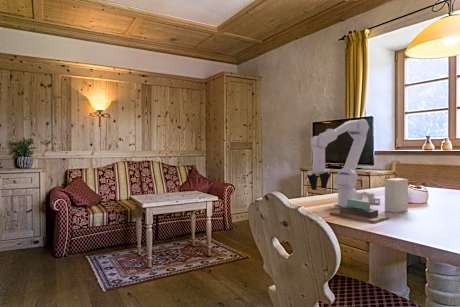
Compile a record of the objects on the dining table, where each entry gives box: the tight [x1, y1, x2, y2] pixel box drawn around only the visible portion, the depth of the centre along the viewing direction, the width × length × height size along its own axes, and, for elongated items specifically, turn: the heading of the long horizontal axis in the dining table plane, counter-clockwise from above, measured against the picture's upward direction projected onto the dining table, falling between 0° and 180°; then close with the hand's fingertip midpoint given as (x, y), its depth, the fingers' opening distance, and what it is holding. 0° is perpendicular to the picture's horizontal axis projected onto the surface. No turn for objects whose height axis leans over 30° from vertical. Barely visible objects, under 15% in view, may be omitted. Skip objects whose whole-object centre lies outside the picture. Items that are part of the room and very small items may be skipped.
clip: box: [347, 199, 371, 211], centre depth 133 cm, size 2×9×6 cm, turn 37°
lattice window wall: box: [357, 191, 381, 205], centre depth 162 cm, size 12×2×6 cm, turn 50°
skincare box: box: [384, 177, 409, 214], centre depth 142 cm, size 8×6×15 cm
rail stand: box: [329, 205, 390, 224], centre depth 133 cm, size 12×20×4 cm, turn 37°
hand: (318, 189), depth 150 cm, fingers open, 7 cm apart
